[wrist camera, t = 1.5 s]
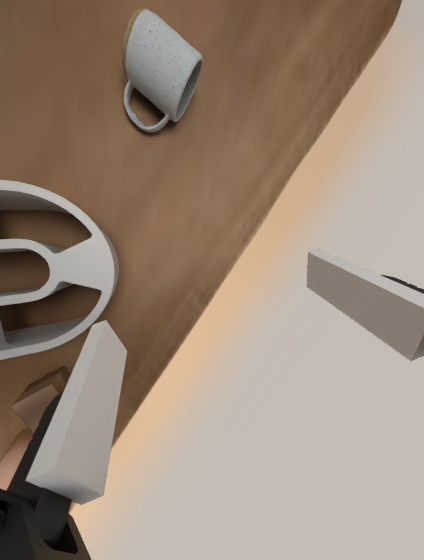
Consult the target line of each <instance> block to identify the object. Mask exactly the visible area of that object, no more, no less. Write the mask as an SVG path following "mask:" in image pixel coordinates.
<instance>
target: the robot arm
mask: <svg viewBox="0 0 424 560" xmlns="http://www.w3.org/2000/svg"><path fill="white" fill-rule="evenodd" d="M307 287H308V288H309V289H311V290H312V291H314V292H315V293H316V294H318V295H319V296H321V297H322V298H324V299H325V300H326V301H328V302H329V303H330V304H332V305H333V306H335V307H336V308H337V309H339V310H340V311H342V312H343V313H345V314H346V315H347V316H349V317H350V318H351V319H353V320H354V321H356V322H357V323H359V324H360V325H361V326H363V327H364V328H366V329H367V330H368V331H370V332H371V333H373V334H374V335H375V336H377V337H378V338H379V339H381V340H382V341H384V342H385V343H387V344H388V345H389V346H391V347H392V348H394V349H395V350H396V351H398V352H399V353H400V354H402V355H403V356H405V357H406V358H407V359H409V360H410V361H412V360H415V359H417V358H419V357H421V356H424V289H421V288H417V287H416V286H414V285H411V284H407V282H404V281H402V280H399V279H397V278H394V277H389V276H385V275H378V274H376V273H374V272H372V271H369V270H367V269H365V268H362V267H360V266H358V265H355V264H353V263H351V262H348V261H346V260H344V259H342V258H339V257H337V256H335V255H332V254H330V253H327V252H325V251H323V250H320V249H316V250H313V251H310V252H308V266H307ZM126 355H127V350H126V349H125V347H124V346H123V344H122V343H121V341H120V340H119V338H118V337H117V335H116V334H115V333H114V331H113V330H112V328H111V327H110V325H109V324H108V322H107V321H106V320H105V321H102V322H99V323H96V324H93V325H92V327H91V330H90V332H89V334H88V337H87V339H86V341H85V344H84V346H83V348H82V350H81V353H80V355H79V357H78V360H77V362H76V364H75V367H74V369H73V371H72V374H71V376H70V378H69V381H68V383H67V385H66V388H65V390H64V392H63V393H62V394H59V395H56V396H55V397H54V399H53V400H52V401H51V403H50V404H49V405H48V407H47V408H46V409H45V411H44V413H43V415H42V417H41V419H40V421H39V423H38V425H39V426H38V427H37V428H36V430H35V432H34V434H33V436H32V437H33V438H32V440H30V442H29V444H28V446H27V449H26V451H25V453H24V455H23V457H22V459H21V461H20V463H19V465H18V467H17V469H16V472H15V474H14V476H13V478H12V480H11V482H10V484H9V486H8V488H7V490H3V489H0V560H91V558H90V556H89V553H88V551H87V549H86V546H85V544H84V542H83V540H82V537H81V535H80V533H79V531H78V528H77V526H76V524H75V522H74V520H73V517H72V516H71V515H70V514H68V513H69V509H70V505H71V501H74V502H76V503H78V504H81V505H82V504H84V503H87V502H89V501H91V500H94V499H96V498H98V497H101V496H103V495H104V489H105V483H106V477H107V471H108V465H109V458H110V453H111V447H112V440H113V434H114V428H115V422H116V416H117V410H118V404H119V398H120V392H121V386H122V380H123V374H124V368H125V362H126Z"/></svg>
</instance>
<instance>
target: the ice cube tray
mask: <svg viewBox="0 0 424 560" xmlns="http://www.w3.org/2000/svg"><path fill="white" fill-rule="evenodd" d="M0 210H52V211H59V212H63V213H67V214H70V215H73V216H75V217H76V218H78V219H79V220H80V221H81V222H82V223H83V224H84V225H85V226H86V227H87V228H88V230H89V231H90V232H91V234H92V237H91V238H90V239H88V240H86V241H83V242H81V243H79V244H77V245H75V246H73V247H71V248H69V249H66V248H64V247H59V246H53V245H47V244H44V243H42V242H38V241H32V240H27V239H0V253H6V252H22V251H35V252H37V253H39V254H40V255H41V256H43V257H44V258H45V259H46V261H47V263H48V265H49V268H50V277H49V280H48V281H47V283H46V284H45V285H44V286H43V287H42V288H34V289H26V290H17V291H9V292H0V306H2V305H10V304H17V303H24V302H31V301H35V300H39V299H42V298H44V297H47V296H49V295H51V294H53V293H55V292H56V291H58V290H61V289H63V288H66V287H69V286H71V285H73V284H78V285H82V286H86V287H91V288H95V289H99V290H101V292H102V294H101V297H100V299H99V301H98V303H97V305H96V306H95V308H94V309H93V310H92V311H91V312H89V313H88V314H86V315H84V316H82V317H79V318H76V319H73V320H69V321H64V322H58V323H52V324H47V325H41V326H35V327H29V328H23V329H17V330H11V331H5V332H3V329H2V325H1V321H0V360H2V359H7V358H12V357H17V356H22V355H26V354H31V353H36V352H40V351H44V350H48V349H51V348H54V347H57V346H59V345H61V344H64V343H66V342H67V341H69V340H71V339H73V338H75V337H76V336H78V335H79V334H81V333H82V332H83V331H85V330H86V329H87V328H88V327H89V326H90V325H91V324H92V323H93V322H94V321H95V320H96V319H97V318H98V317H99V315H100V314H101V313H102V311H103V310H104V308H105V307H106V305H107V304H108V302H109V300H110V298H111V296H112V295H113V293H114V291H115V288H116V286H117V282H118V278H119V262H118V257H117V254H116V251H115V248H114V246H113V244H112V243H111V241H110V239H109V238H108V237H107V235H106V234H105V233H104V232H103V230H102V229H101V228H100V227H98V226H97V224H96V223H95V222H94V221H93V220H92V219H91V218H90V217H89V216H87V215H86V214H85V213H84V212H83V211H81V210H80V209H79V208H78V207H77V206H75V205H74V204H72V203H71V202H69V201H68V200H66V199H64V198H63V197H61V196H59V195H57V194H55V193H52V192H50V191H48V190H45V189H43V188H40V187H37V186H33V185H30V184H26V183H22V182H16V181H7V180H0Z"/></svg>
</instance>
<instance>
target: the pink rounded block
mask: <svg viewBox="0 0 424 560" xmlns="http://www.w3.org/2000/svg"><path fill="white" fill-rule="evenodd" d="M33 434H34V432H33V431H32V430H31V429H30V428H29V427H27V428H26V429H24V430H23V431H22V432H21V433H20V434H19V435H18V436H17V438H16V439H15V440H14V442H13V443H12V445H11V446H10V448H9V449H8V450H7V452H6V453H5V455H4V456H3V458H2V459H1V460H0V489H3V490H7V488H8V486H9V484H10V482H11V480H12V478H13V476H14V474H15V472H16V469H17V467H18V465H19V463H20V461H21V459H22V457H23V455H24V453H25V451H26V449H27V446H28V444H29V442H30V440H32V438H33V437H32V436H33Z"/></svg>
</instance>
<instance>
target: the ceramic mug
mask: <svg viewBox="0 0 424 560" xmlns="http://www.w3.org/2000/svg"><path fill="white" fill-rule="evenodd" d="M202 63H203V58H202V56H201V54H200V53H199V52H198V51H196V50H195V49H194V48H193V47H192V46H191V45H189V44H188V43H187V42H186V41H185V40H184V39H183V38H182V37H181V36H180V35H179V34H177V33H176V32H175V31H174V30H173V29H172V28H170V27H169V26H168V25H167V24H166V23H165V22H164V21H163V20H162V19H161V18H160V17H158V16H157V15H156V14H154V13H153V12H151V11H149V10H147V9H145V8H140V9H138V10H137V11H136V12H135V13H134V14H133V15H132V17H131V19H130V21H129V24H128V26H127V29H126V32H125V36H124V41H123V47H122V64H123V69H124V72H125V75H126V77H127V78H128V83H127V85H126V87H125V92H124V104H125V108H126V111H127V113H128V115H129V117H130V119H131V120H132V121H133V122H134V124H135V125H136V126H138V127H139V128H140V129H141V130H143V131H146V132H149V133H152V132H157V131H159V130H160V129H161V128H163V127H164V126H165V124H166V123H167V122H168V120H169V119H170V120H172V121H173V122H177V121H178V120H179V119H180V117H181V116H182V115H183V113H184V111H185V110H186V108H187V106H188V104H189V102H190V100H191V98H192V95H193V93H194V91H195V88H196V85H197V82H198V79H199V76H200V72H201V68H202ZM134 87H135V88H136V89H137V90H138V91H139V92H140V93H141V94H143V95H144V96H145V97H147V98H148V99H149V100H150V101H151V102H152V103H153V104H154V105H155V106H156V107H157V108H158V109H159V110H160V111H161V112H163V113H164V114H165V117H164V118H163V119H162V120H161V121H160V122H159V123H158V124H156V125H153V126H148V127H146V126H144V125H143V124H142V123H141V122H140V121H139V120H138V119H137V117H136V115H135V114H134V113H133V112H132V111H131V109H130V104H129V102H130V96H131V92H132V89H133V88H134Z"/></svg>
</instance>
